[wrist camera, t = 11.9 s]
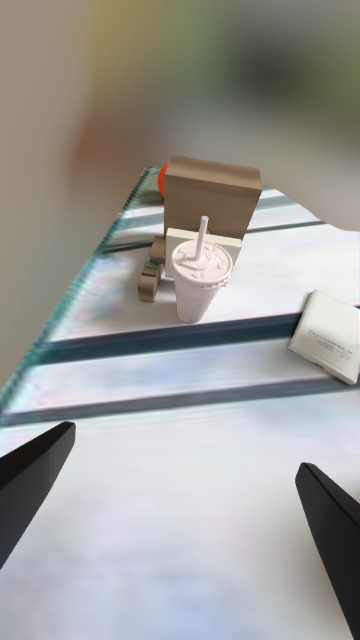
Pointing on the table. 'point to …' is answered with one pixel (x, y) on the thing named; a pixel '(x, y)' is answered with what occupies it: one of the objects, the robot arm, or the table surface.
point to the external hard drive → (329, 336)
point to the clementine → (162, 178)
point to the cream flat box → (180, 236)
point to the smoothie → (198, 274)
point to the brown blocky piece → (202, 206)
